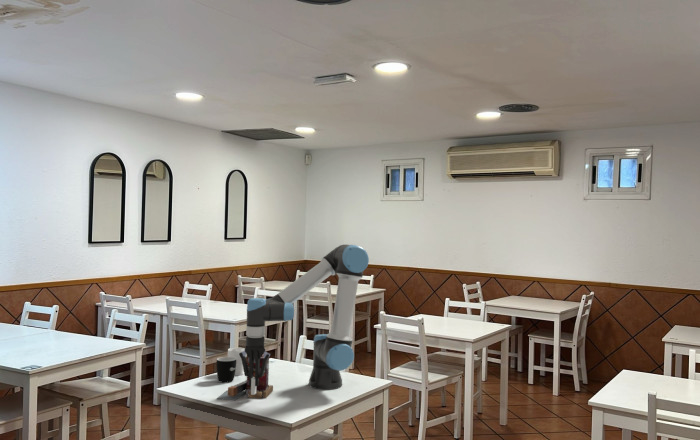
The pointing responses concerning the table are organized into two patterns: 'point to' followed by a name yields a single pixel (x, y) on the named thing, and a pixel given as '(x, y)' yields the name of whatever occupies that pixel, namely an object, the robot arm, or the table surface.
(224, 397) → the slate mat
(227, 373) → the mug
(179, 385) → the table surface
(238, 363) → the cup
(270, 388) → the cradle
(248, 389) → the supplement box
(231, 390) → the lever
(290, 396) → the table surface
